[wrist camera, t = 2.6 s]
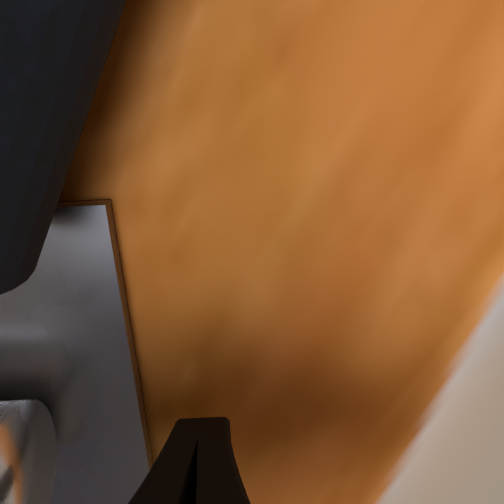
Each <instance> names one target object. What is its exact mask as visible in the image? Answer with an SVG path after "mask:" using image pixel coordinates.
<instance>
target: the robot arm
mask: <svg viewBox="0 0 504 504" xmlns="http://www.w3.org/2000/svg"><path fill="white" fill-rule="evenodd" d="M128 504H250V501H249V499H248V496H247V494H246V491H245V488H244V486H243V483H242V480H241V477H240V474H239V471H238V468H237V464H236V461H235V457H234V453H233V449H232V444H231V433H230V420H229V419H227V418H226V417H210V418H189V419H179V420H178V421H177V422H176V423H175V425H174V428H173V430H172V432H171V434H170V436H169V438H168V440H167V442H166V443H165V445H164V447H163V449H162V451H161V452H160V454H159V456H158V458H157V459H156V461H155V463H154V464H153V466H152V468H151V469H150V471H149V472H148V474H147V476H146V477H145V479H144V481H143V482H142V484H141V485H140V487H139V488H138V490H137V491H136V493H135V494H134V495H133V497H132V498H131V500H130V501H129V503H128Z"/></svg>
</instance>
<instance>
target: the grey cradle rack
mask: <svg viewBox="0 0 504 504" xmlns="http://www.w3.org/2000/svg"><path fill="white" fill-rule="evenodd" d="M26 399H36V400H39V401H41V402H42V403H43V404H44V405H45V406H46V407H47V409H48V410H49V412H50V415H51V417H52V420H53V424H54V428H55V434H56V444H57V461H56V473H55V481H54V487H53V491H52V496H51V500H50V504H128V503H129V501H130V500H131V498H132V497H133V495H134V494H135V493H136V491H137V490H138V488H139V487H140V485H141V484H142V482H143V481H144V479H145V477H146V476H147V474H148V472H149V471H150V469H151V468H152V466H153V458H152V452H151V446H150V440H149V434H148V427H147V421H146V415H145V409H144V403H143V396H142V390H141V384H140V378H139V372H138V366H137V359H136V353H135V347H134V341H133V335H132V328H131V322H130V316H129V310H128V304H127V298H126V291H125V285H124V279H123V273H122V267H121V260H120V254H119V248H118V242H117V236H116V230H115V223H114V217H113V211H112V205H111V200H92V201H72V202H58V204H57V207H56V210H55V213H54V216H53V219H52V222H51V225H50V228H49V230H48V233H47V236H46V239H45V242H44V245H43V248H42V251H41V254H40V257H39V260H38V263H37V266H36V269H35V271H34V272H33V274H32V275H31V276H30V277H29V279H28V280H27V281H26V282H24V283H23V284H21V285H20V286H18V287H17V288H15V289H14V290H11V291H9V292H6V293H4V294H1V295H0V401H7V400H26Z"/></svg>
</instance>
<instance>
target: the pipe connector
mask: <svg viewBox="0 0 504 504" xmlns="http://www.w3.org/2000/svg"><path fill="white" fill-rule="evenodd" d="M125 3H126V0H0V295H1V294H4V293H6V292H9V291H11V290H14V289H15V288H17V287H18V286H20V285H21V284H23V283H24V282H26V281H27V280H28V279H29V277H30V276H31V275H32V274H33V272H34V271H35V269H36V266H37V263H38V260H39V257H40V254H41V251H42V248H43V245H44V242H45V239H46V236H47V233H48V230H49V228H50V225H51V222H52V219H53V216H54V213H55V210H56V207H57V204H58V201H59V198H60V195H61V192H62V189H63V186H64V183H65V180H66V177H67V174H68V171H69V168H70V165H71V163H72V160H73V157H74V154H75V151H76V148H77V145H78V142H79V139H80V136H81V133H82V130H83V127H84V124H85V121H86V118H87V115H88V112H89V109H90V106H91V103H92V101H93V98H94V95H95V92H96V89H97V86H98V83H99V80H100V77H101V74H102V71H103V68H104V65H105V62H106V59H107V56H108V53H109V50H110V47H111V44H112V41H113V38H114V36H115V33H116V30H117V27H118V24H119V21H120V18H121V15H122V12H123V9H124V6H125Z"/></svg>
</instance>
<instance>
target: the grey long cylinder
mask: <svg viewBox="0 0 504 504" xmlns="http://www.w3.org/2000/svg"><path fill="white" fill-rule="evenodd" d="M56 461H57V444H56V434H55V428H54V424H53V420H52V417H51V415H50V412H49V410H48V409H47V407H46V406H45V405H44V404H43V403H42V402H41V401H39V400H36V399H26V400H7V401H0V504H50V500H51V496H52V491H53V487H54V481H55V473H56Z"/></svg>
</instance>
